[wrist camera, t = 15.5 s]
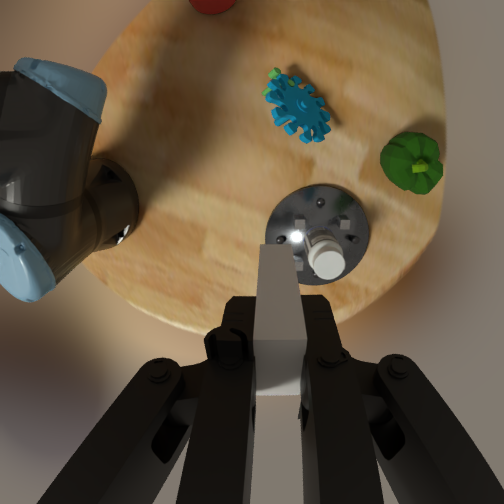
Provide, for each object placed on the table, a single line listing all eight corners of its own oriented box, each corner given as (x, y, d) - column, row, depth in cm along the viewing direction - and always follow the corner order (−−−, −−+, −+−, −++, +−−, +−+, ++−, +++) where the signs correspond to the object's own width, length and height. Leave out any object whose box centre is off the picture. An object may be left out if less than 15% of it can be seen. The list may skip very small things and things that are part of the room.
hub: (266, 283, 45) (265, 294, 42) (264, 185, 38) (263, 190, 35) (360, 281, 44) (365, 291, 41) (371, 187, 37) (379, 192, 34)
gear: (345, 130, 32) (302, 149, 27) (315, 145, 37) (270, 166, 32) (304, 63, 30) (252, 67, 25) (278, 83, 35) (227, 93, 30)
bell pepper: (423, 139, 33) (461, 146, 24) (412, 189, 36) (447, 207, 27) (377, 122, 33) (410, 122, 24) (366, 175, 36) (395, 190, 27)
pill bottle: (326, 257, 41) (337, 287, 34) (298, 248, 41) (304, 276, 33) (338, 230, 39) (354, 255, 32) (310, 220, 39) (320, 243, 31)
